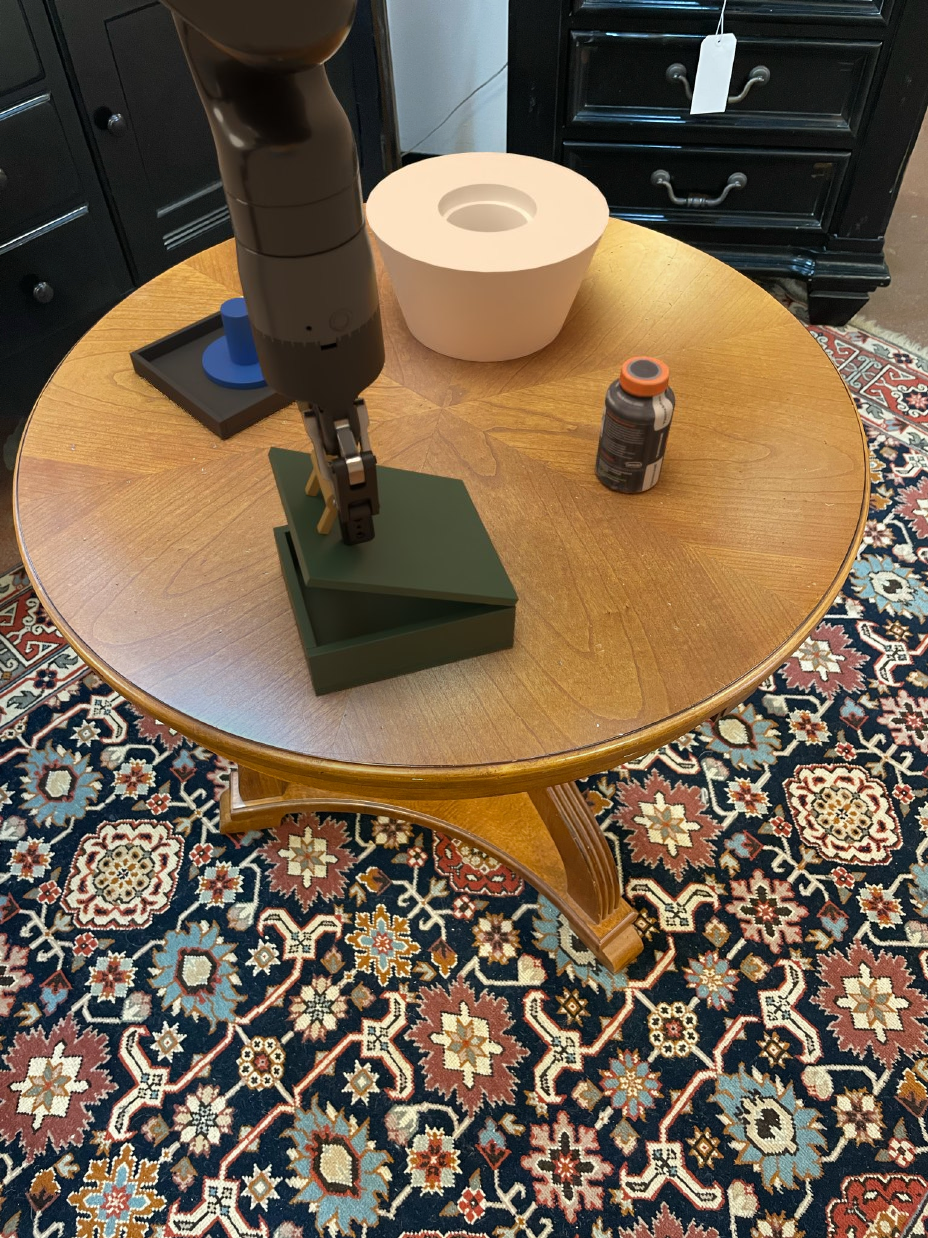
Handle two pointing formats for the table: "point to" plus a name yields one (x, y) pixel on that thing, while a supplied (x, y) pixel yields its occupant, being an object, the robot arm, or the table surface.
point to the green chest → (384, 629)
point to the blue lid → (234, 351)
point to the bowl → (486, 249)
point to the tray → (202, 380)
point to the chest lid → (392, 536)
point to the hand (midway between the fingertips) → (349, 512)
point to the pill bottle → (635, 426)
